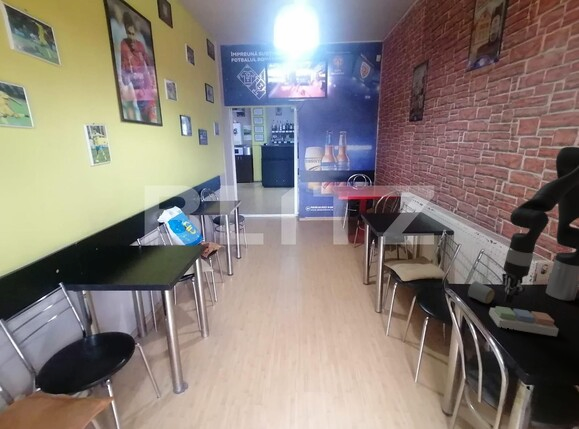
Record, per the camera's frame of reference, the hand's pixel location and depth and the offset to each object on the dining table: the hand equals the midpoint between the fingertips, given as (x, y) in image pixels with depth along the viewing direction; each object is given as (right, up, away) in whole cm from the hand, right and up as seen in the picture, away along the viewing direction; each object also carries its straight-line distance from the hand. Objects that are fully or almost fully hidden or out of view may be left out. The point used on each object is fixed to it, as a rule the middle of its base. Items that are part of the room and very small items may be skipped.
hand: (507, 302), depth 112 cm
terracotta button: (+12, -7, -1) cm, 14 cm away
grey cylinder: (+2, -5, +19) cm, 20 cm away
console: (+6, -9, +1) cm, 11 cm away
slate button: (+6, -7, 0) cm, 9 cm away
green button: (0, -6, +2) cm, 7 cm away
